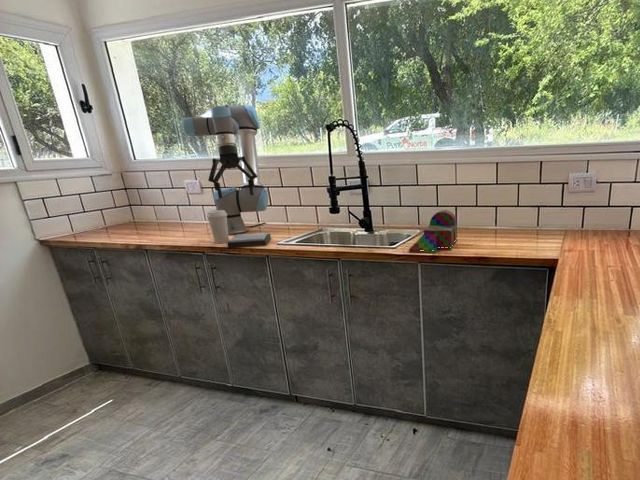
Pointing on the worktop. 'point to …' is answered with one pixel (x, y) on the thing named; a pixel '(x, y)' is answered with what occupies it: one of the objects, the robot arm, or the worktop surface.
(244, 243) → the kitchen scale
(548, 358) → the worktop surface
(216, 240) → the coffee cup
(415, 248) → the block
